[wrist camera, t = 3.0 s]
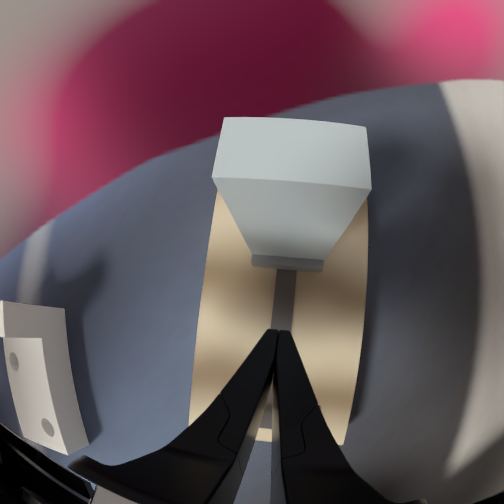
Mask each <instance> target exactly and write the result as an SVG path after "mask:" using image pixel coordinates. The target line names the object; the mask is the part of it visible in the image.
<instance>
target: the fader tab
mask: <svg viewBox="0 0 504 504" xmlns="http://www.w3.org/2000/svg"><path fill="white" fill-rule="evenodd" d="M212 179H213V181H214V183H215V184H216V186H217V188H218V190H219V192H220V194H221V196H222V198H223V200H224V202H225V204H226V205H227V207H228V209H229V211H230V213H231V215H232V217H233V219H234V221H235V223H236V225H237V226H238V228H239V230H240V232H241V234H242V236H243V238H244V240H245V242H246V244H247V246H248V247H249V249H250V251H251V253H252V258H251V264H252V265H253V267H263V268H274V269H285V270H297V271H308V272H321V271H322V270H323V265H324V259H325V258H326V257H327V255H328V254H329V252H330V251H331V249H332V248H333V247H334V245H335V244H336V242H337V241H338V239H339V238H340V237H341V235H342V234H343V232H344V231H345V229H346V228H347V226H348V225H349V223H350V222H351V220H352V219H353V217H354V216H355V214H356V213H357V211H358V210H359V208H360V207H361V205H362V204H363V202H364V201H365V199H366V198H367V196H368V195H369V193H370V191H371V190H372V187H371V172H370V160H369V150H368V141H367V133H366V127H362V126H356V125H349V124H341V123H333V122H324V121H313V120H301V119H286V118H261V117H259V118H258V117H228V118H227V117H225V118H224V121H223V126H222V130H221V135H220V139H219V144H218V149H217V154H216V158H215V163H214V168H213V174H212Z"/></svg>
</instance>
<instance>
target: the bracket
mask: <svg viewBox="0 0 504 504" xmlns="http://www.w3.org/2000/svg"><path fill="white" fill-rule="evenodd" d="M0 337H3V343H4V352H5V359H6V366H7V372H8V378H9V383H10V388H11V392H12V397H13V401H14V405H15V409H16V413H17V417H18V420H19V423H20V427H21V430H22V433H23V436H24V437H25V438H27V439H29V440H31V441H34V442H36V443H38V444H40V445H43V446H45V447H47V448H50V449H52V450H55V451H57V452H60V453H63V454H65V455H70V454H72V453H74V452H76V451H78V450H80V449H82V448H84V447H86V446H88V445H89V442H88V439H87V436H86V432H85V429H84V425H83V421H82V418H81V414H80V410H79V405H78V401H77V397H76V392H75V387H74V382H73V376H72V370H71V364H70V358H69V350H68V342H67V333H66V321H65V308H55V307H47V306H38V305H30V304H23V303H16V302H9V301H0Z"/></svg>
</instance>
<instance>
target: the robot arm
mask: <svg viewBox="0 0 504 504" xmlns="http://www.w3.org/2000/svg"><path fill="white" fill-rule="evenodd" d="M278 332H279V333H278ZM273 373H274V374H273ZM272 380H273V383H272ZM271 385H272V457H271V499H270V504H428V503H427V502H426V500H425V499H418V500H414V501H409V502H405V503H395V502H392V501H389V500H388V499H386V498H385V497H384V496H382V495H381V494H380V493H379V492H377V491H376V490H375V489H374V488H373V487H371V486H370V485H369V484H368V483H367V482H365V481H364V480H363V479H362V478H361V477H360V476H358V475H357V474H356V473H355V471H354V470H353V469H352V468H351V466H350V465H349V463H348V462H347V460H346V458H345V456H344V455H343V453H342V451H341V449H340V448H339V446H338V444H337V442H336V441H335V439H334V437H333V435H332V433H331V431H330V429H329V427H328V426H327V423H326V421H325V419H324V416H323V414H322V411H321V409H320V406H319V405H318V401H317V399H316V396H315V393H314V391H313V388H312V386H311V383H310V380H309V378H308V375H307V373H306V370H305V367H304V365H303V362H302V360H301V357H300V355H299V352H298V349H297V347H296V344H295V342H294V339H293V337H292V334H291V332H290V331H289V330H279V331H278V330H277V329H267V330H266V331H265V333H264V334H263V335H262V337H261V338H260V340H259V341H258V342H257V344H256V345H255V347H254V348H253V349H252V351H251V352H250V353H249V355H248V356H247V357H246V359H245V360H244V362H243V363H242V364H241V366H240V367H239V368H238V370H237V371H236V372H235V374H234V375H233V376H232V377H231V379H230V380H229V381H228V383H227V384H226V385H225V387H224V388H223V389H222V391H221V392H220V394H218V395H217V397H216V398H215V399H214V401H213V402H212V403H211V404H210V405H209V406H208V408H207V409H206V410H205V411H204V412H203V413H202V414H201V415H200V416H199V417H198V418H197V419H196V420H195V421H194V422H193V423H192V424H191V425H190V426H188V427H187V428H186V429H185V430H184V431H183V432H182V433H181V434H179V435H178V436H177V437H176V438H175V439H174V440H173V441H171V442H170V443H169V444H167V445H166V446H164V447H163V448H161V449H159V450H157V451H155V452H152V453H150V454H147V455H145V456H142V457H140V458H137V459H134V460H132V461H129V462H126V463H123V464H120V465H116V466H109V465H104V464H102V463H99V462H98V461H96V460H94V459H92V458H90V457H88V456H85V455H83V456H81V457H80V458H78V459H76V460H74V461H73V462H71V463H70V464H69V466H68V468H69V469H71V470H72V471H74V472H75V473H77V474H78V475H80V476H82V477H84V478H85V479H87V480H89V481H91V482H93V483H95V484H96V487H95V490H94V491H93V488H92V486H91V484H90V483H89V482H88V481H86V480H84V479H82V478H81V477H79V476H77V475H75V474H74V473H72V472H71V471H69V470H67V469H66V468H64V467H63V466H61V465H60V464H58V463H57V462H55V461H54V460H52V459H51V458H49V457H48V456H46V455H45V454H43V453H42V452H40V451H39V450H38V449H36V448H35V447H33V446H32V445H30V444H29V443H27V442H26V441H25V440H23V439H22V438H20V437H19V436H18V435H16V434H15V433H14V432H12V431H11V430H10V429H8V428H7V427H6V426H4V425H3V424H2V423H1V422H0V504H233V503H234V500H235V497H236V495H237V492H238V489H239V486H240V484H241V481H242V477H243V475H244V472H245V469H246V466H247V463H248V460H249V457H250V454H251V451H252V448H253V445H254V442H255V439H256V436H257V433H258V429H259V426H260V423H261V420H262V416H263V413H264V410H265V406H266V403H267V400H268V396H269V393H270V389H271ZM472 504H504V490H503V491H500V492H498V493H496V494H494V495H491V496H489V497H487V498H484V499H482V500H479V501H477V502H474V503H472Z"/></svg>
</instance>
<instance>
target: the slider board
mask: <svg viewBox="0 0 504 504" xmlns="http://www.w3.org/2000/svg"><path fill="white" fill-rule="evenodd" d="M251 258H252V253H251V251H250V249H249V247H248V246H247V244H246V242H245V240H244V238H243V236H242V234H241V232H240V230H239V228H238V226H237V225H236V223H235V221H234V219H233V217H232V215H231V213H230V211H229V209H228V207H227V205H226V204H225V202H224V200H223V198H222V196H221V194H220V192H219V190H218V191H217V197H216V202H215V208H214V214H213V220H212V227H211V233H210V239H209V246H208V253H207V260H206V267H205V274H204V281H203V288H202V296H201V304H200V312H199V320H198V329H197V338H196V347H195V357H194V367H193V377H192V389H191V401H190V414H189V426H190V425H191V424H192V423H193V422H194V421H195V420H196V419H197V418H198V417H199V416H200V415H201V414H202V413H203V412H204V411H205V410H206V409H207V408H208V406H209V405H210V404H211V403H212V402H213V401H214V399H215V398H216V397H217V395H218V394H220V392H221V391H222V389H223V388H224V387H225V385H226V384H227V383H228V381H229V380H230V379H231V377H232V376H233V375H234V374H235V372H236V371H237V370H238V368H239V367H240V366H241V364H242V363H243V362H244V360H245V359H246V357H247V356H248V355H249V353H250V352H251V351H252V349H253V348H254V347H255V345H256V344H257V342H258V341H259V340H260V338H261V337H262V335H263V334H264V333H265V331H266V330H267V329H277V330H278V331H279V330H289V331H290V332H291V334H292V337H293V339H294V342H295V344H296V347H297V349H298V352H299V355H300V357H301V360H302V362H303V365H304V367H305V370H306V373H307V375H308V378H309V380H310V383H311V386H312V388H313V391H314V393H315V396H316V399H317V401H318V405H319V406H320V409H321V411H322V414H323V416H324V419H325V421H326V423H327V426H328V427H329V429H330V431H331V433H332V435H333V437H334V439H335V441H336V442H337V444H338V445H343V443H344V439H345V435H346V431H347V426H348V422H349V417H350V412H351V407H352V402H353V397H354V391H355V386H356V380H357V373H358V367H359V360H360V352H361V345H362V336H363V327H364V316H365V304H366V289H367V267H368V203H367V198H366V199H365V201H364V202H363V204H362V205H361V207H360V208H359V210H358V211H357V213H356V214H355V216H354V217H353V219H352V220H351V222H350V223H349V225H348V226H347V228H346V229H345V231H344V232H343V234H342V235H341V237H340V238H339V239H338V241H337V242H336V244H335V245H334V247H333V248H332V249H331V251H330V252H329V254H328V255H327V257H326V258H325V259H324V265H323V270H322V271H321V272H308V271H297V270H285V269H274V268H263V267H253V265H252V264H251ZM278 333H279V332H278ZM273 374H274V373H273ZM272 383H273V380H272ZM255 440H260V441H269V442H272V385H271V389H270V393H269V396H268V400H267V403H266V406H265V410H264V413H263V416H262V420H261V423H260V426H259V429H258V433H257V436H256V439H255Z"/></svg>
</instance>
